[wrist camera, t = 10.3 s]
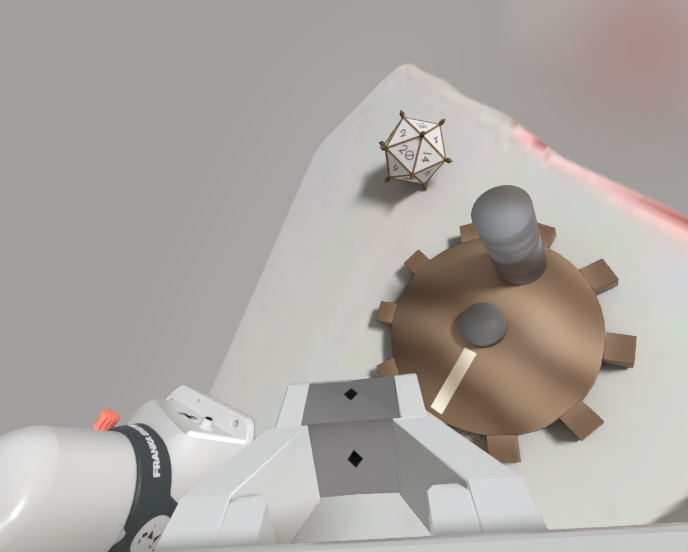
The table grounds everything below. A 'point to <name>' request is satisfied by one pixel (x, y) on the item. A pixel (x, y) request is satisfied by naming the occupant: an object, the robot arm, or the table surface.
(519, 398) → the sprocket
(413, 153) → the game die
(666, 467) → the table surface
